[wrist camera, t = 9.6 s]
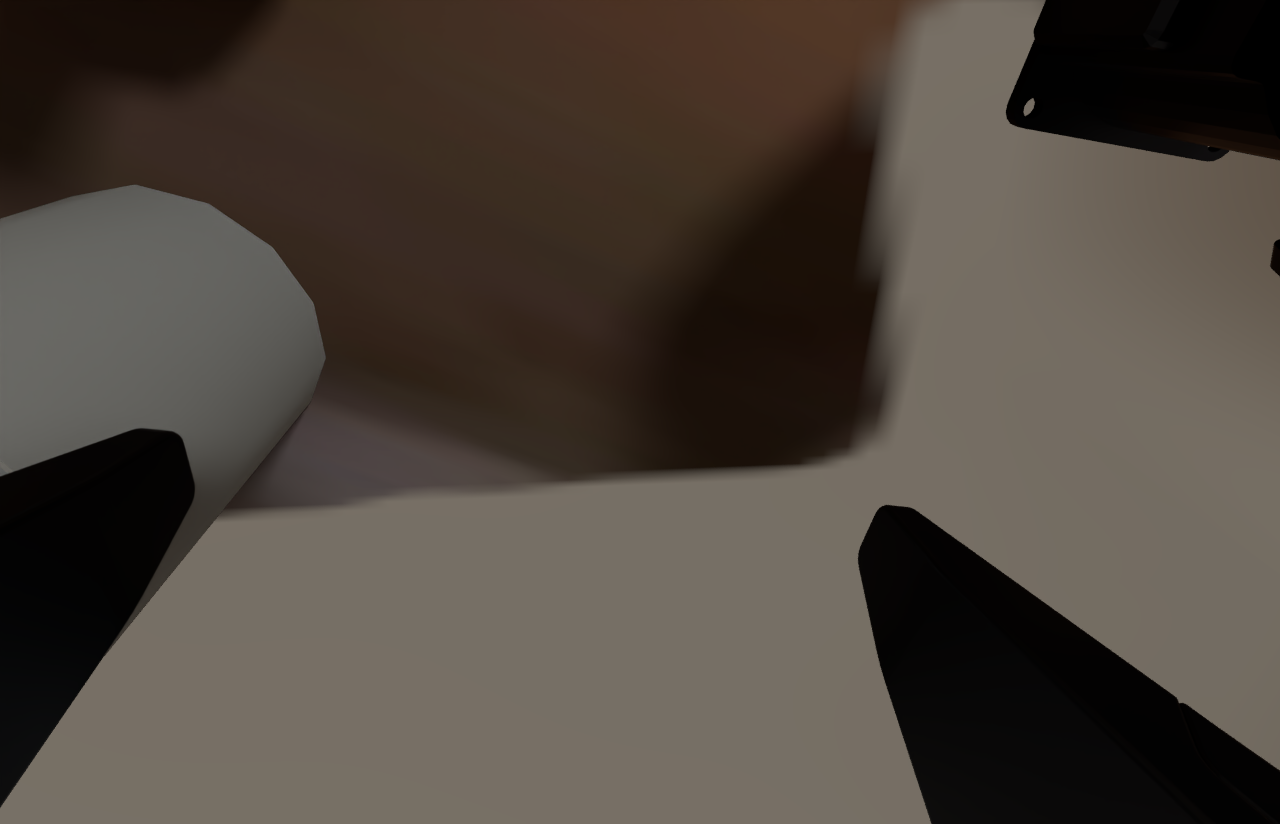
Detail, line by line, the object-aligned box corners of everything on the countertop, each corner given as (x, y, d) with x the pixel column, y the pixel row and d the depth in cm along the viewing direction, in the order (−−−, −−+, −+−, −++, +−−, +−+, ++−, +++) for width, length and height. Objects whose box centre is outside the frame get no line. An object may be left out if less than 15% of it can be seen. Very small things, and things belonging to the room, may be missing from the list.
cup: (344, 441, 22) (173, 703, 13) (98, 433, 21) (-242, 700, 13) (288, 193, 18) (-19, 350, 9) (-23, 176, 17) (-661, 324, 8)
